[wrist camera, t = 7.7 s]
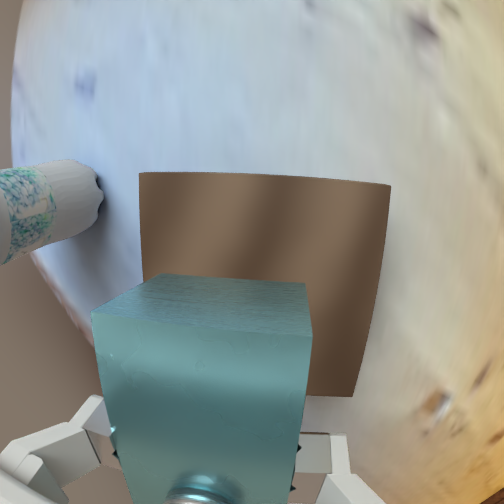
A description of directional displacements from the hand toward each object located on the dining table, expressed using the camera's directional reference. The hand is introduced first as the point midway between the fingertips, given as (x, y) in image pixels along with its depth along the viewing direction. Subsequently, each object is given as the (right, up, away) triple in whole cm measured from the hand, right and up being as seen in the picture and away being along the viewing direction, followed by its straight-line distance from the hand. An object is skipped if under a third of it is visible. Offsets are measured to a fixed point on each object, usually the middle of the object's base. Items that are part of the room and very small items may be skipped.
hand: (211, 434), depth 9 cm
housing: (0, 0, +3) cm, 3 cm away
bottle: (-13, +11, +16) cm, 24 cm away
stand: (+2, +5, +16) cm, 16 cm away
